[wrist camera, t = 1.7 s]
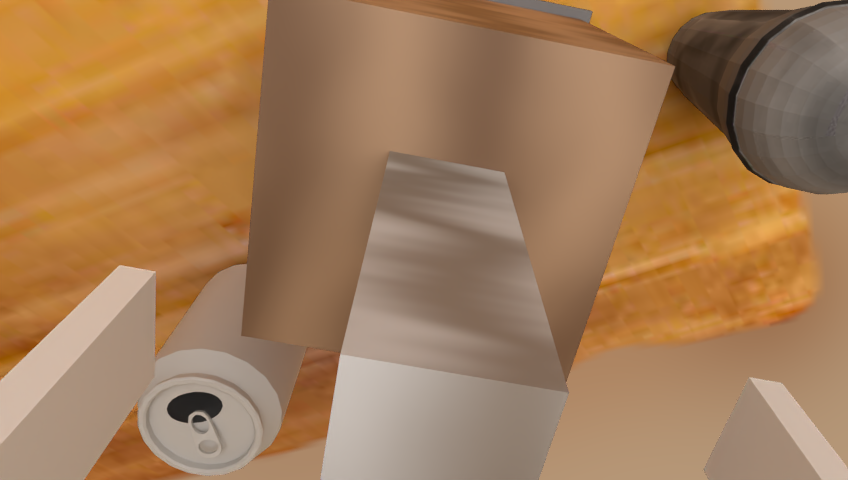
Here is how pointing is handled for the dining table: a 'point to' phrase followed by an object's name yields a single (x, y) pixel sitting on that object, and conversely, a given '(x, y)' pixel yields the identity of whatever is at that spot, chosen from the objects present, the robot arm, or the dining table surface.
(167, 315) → the dining table surface
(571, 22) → the wooden block with peg
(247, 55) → the dining table surface
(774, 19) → the beverage cup
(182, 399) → the can
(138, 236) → the dining table surface
